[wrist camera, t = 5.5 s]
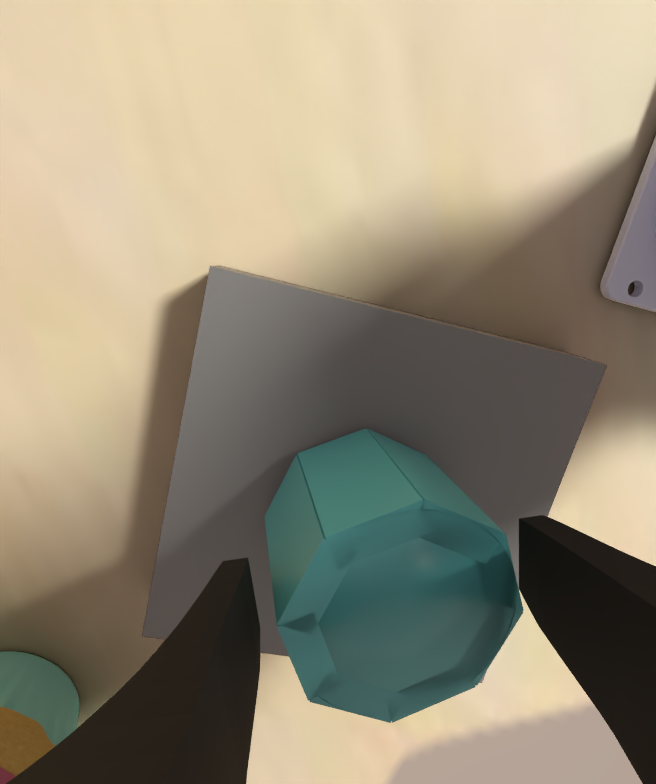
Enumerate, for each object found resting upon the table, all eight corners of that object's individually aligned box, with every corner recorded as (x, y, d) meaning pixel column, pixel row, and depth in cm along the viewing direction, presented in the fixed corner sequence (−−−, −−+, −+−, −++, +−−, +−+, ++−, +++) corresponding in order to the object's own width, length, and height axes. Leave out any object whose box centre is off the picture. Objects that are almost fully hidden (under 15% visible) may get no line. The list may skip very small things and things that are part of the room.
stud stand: (569, 353, 16) (722, 401, 11) (462, 640, 19) (537, 802, 13) (219, 265, 15) (177, 267, 9) (157, 595, 18) (94, 758, 12)
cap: (414, 409, 14) (492, 472, 10) (453, 553, 16) (534, 661, 11) (246, 471, 14) (251, 565, 9) (303, 613, 15) (329, 749, 11)
